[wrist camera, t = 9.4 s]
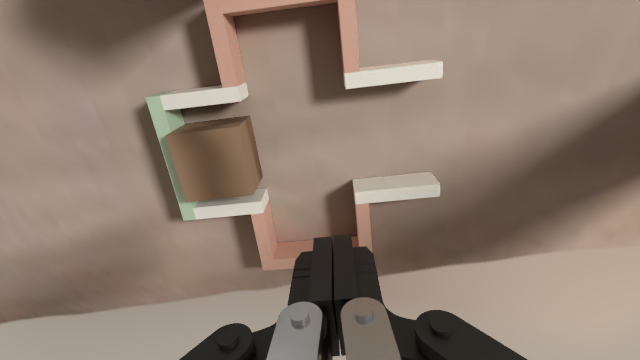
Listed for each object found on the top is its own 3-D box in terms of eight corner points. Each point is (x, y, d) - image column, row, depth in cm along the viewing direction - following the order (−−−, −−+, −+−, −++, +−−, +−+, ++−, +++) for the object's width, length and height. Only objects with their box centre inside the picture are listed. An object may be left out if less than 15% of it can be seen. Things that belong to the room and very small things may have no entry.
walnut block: (250, 115, 31) (238, 126, 26) (262, 175, 33) (253, 195, 29) (187, 123, 31) (165, 135, 27) (203, 182, 33) (185, 202, 29)
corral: (432, -28, 26) (444, -37, 23) (430, 239, 35) (438, 256, 32) (139, 12, 27) (118, 9, 25) (210, 258, 36) (200, 276, 34)
